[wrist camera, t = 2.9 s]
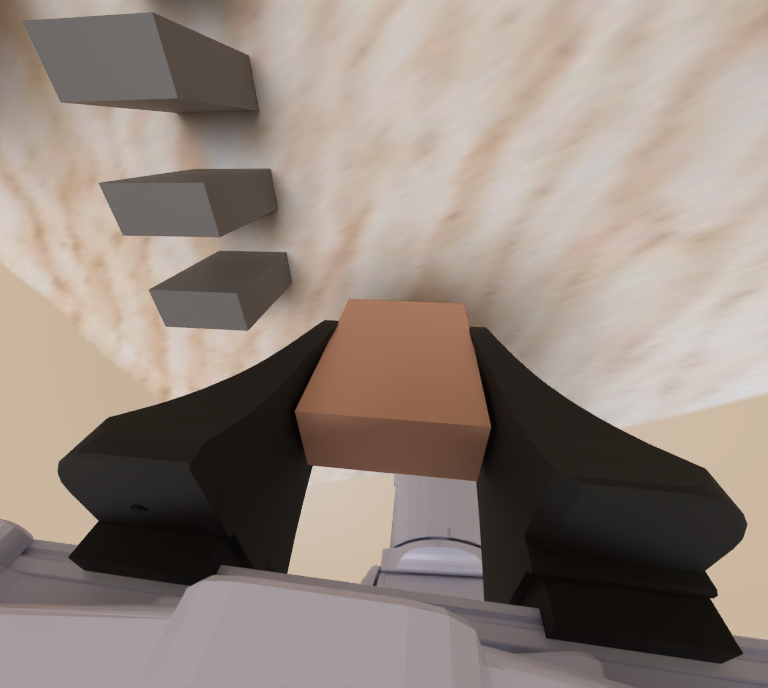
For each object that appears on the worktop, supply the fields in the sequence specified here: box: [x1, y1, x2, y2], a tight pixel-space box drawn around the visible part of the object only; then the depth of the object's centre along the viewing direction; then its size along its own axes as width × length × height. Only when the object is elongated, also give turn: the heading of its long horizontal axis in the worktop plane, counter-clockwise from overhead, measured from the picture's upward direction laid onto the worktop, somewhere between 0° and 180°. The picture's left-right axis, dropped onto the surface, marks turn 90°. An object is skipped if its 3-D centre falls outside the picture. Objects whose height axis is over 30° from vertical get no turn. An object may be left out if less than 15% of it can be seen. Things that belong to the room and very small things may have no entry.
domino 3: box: [149, 251, 292, 331], centre depth 17 cm, size 2×4×6 cm, turn 91°
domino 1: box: [23, 12, 259, 113], centre depth 12 cm, size 2×4×6 cm, turn 91°
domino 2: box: [99, 169, 278, 237], centre depth 15 cm, size 2×4×6 cm, turn 91°
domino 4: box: [295, 299, 491, 481], centre depth 10 cm, size 2×4×6 cm, turn 90°
